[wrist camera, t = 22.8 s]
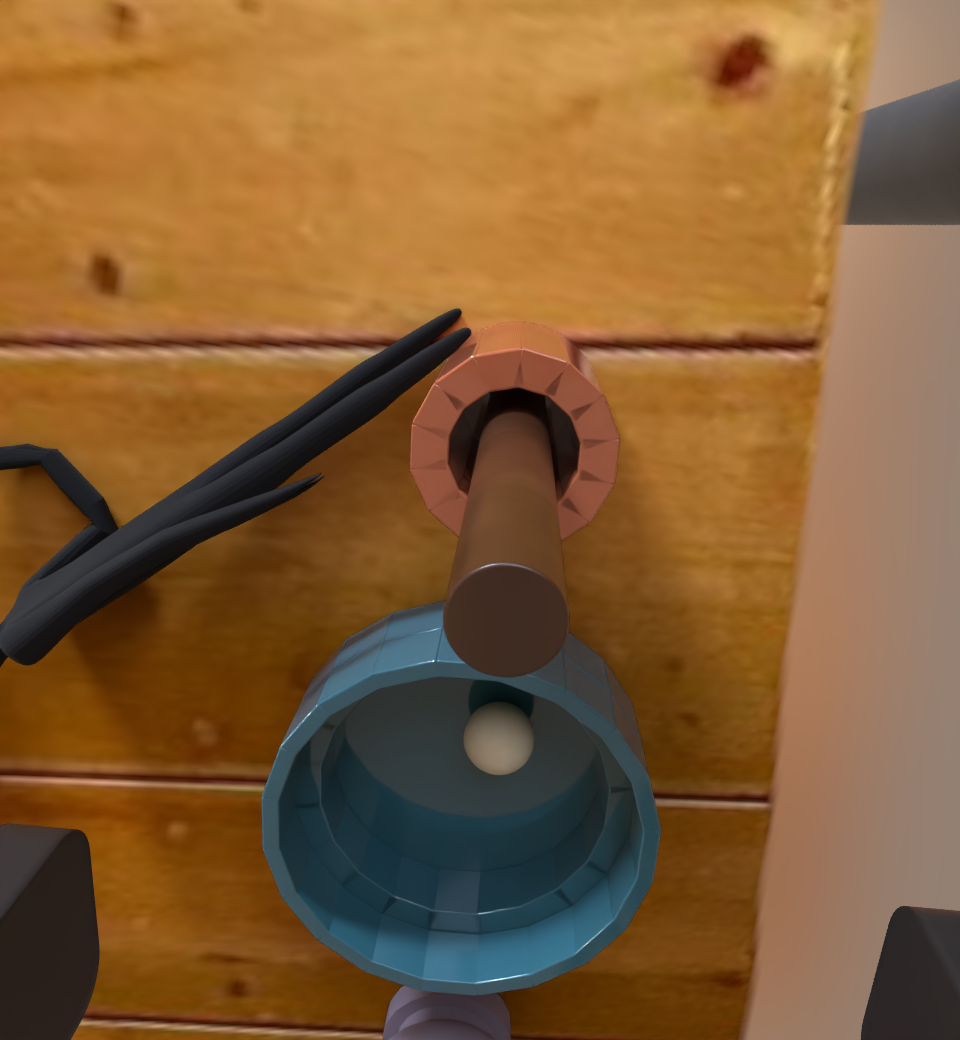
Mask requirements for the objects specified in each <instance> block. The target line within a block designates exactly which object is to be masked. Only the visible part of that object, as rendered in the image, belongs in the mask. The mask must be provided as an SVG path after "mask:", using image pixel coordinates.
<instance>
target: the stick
mask: <svg viewBox="0 0 960 1040" xmlns="http://www.w3.org/2000/svg"><path fill="white" fill-rule="evenodd" d="M569 625H570V616H569V607H568V598H567V589H566V580H565V571H564V562H563V553H562V543H561V534H560V525H559V516H558V507H557V498H556V489H555V480H554V471H553V462H552V453H551V444H550V435H549V426H548V417H547V408H546V399H545V396H544V395H540V394H537V393H534V392H530V391H527V390H524V389H521V388H515V389H509V390H502V391H496V392H490V396H489V400H488V405H487V409H486V414H485V419H484V423H483V428H482V433H481V437H480V442H479V447H478V451H477V456H476V461H475V465H474V470H473V474H472V479H471V484H470V488H469V493H468V498H467V502H466V507H465V512H464V516H463V521H462V526H461V530H460V535H459V540H458V544H457V549H456V553H455V558H454V563H453V567H452V572H451V577H450V581H449V586H448V591H447V595H446V600H445V605H444V610H443V627H444V632H445V635H446V638H447V640H448V642H449V645H450V646H451V648H452V649H453V651H454V652H455V653H456V655H457V656H458V657H459V658H460V659H461V660H462V661H463V662H465V663H466V664H467V665H469V666H470V667H471V668H473V669H475V670H477V671H479V672H481V673H484V674H487V675H491V676H495V677H507V678H511V677H519V676H523V675H527V674H530V673H533V672H535V671H537V670H539V669H541V668H542V667H544V666H545V665H547V664H548V663H549V662H550V661H551V660H552V659H554V657H555V656H556V655H557V654H558V653H559V651H560V650H561V648H562V647H563V645H564V643H565V641H566V638H567V635H568V631H569Z"/></svg>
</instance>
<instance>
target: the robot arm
mask: <svg viewBox="0 0 960 1040" xmlns="http://www.w3.org/2000/svg"><path fill="white" fill-rule="evenodd" d="M98 965H99V938H98V928H97V918H96V908H95V897H94V887H93V877H92V867H91V857H90V848H89V843H88V839H87V837H86V835H85V834H84V833H83V832H82V831H80V830H75V829H64V828H53V827H42V826H30V825H19V824H3V825H0V1040H71V1038H72V1036H73V1034H74V1033H75V1031H76V1029H77V1027H78V1026H79V1024H80V1022H81V1020H82V1018H83V1016H84V1014H85V1012H86V1009H87V1007H88V1005H89V1002H90V999H91V996H92V993H93V990H94V986H95V982H96V978H97V972H98ZM861 1040H960V911H954V910H943V909H931V908H921V907H909V906H901V907H899V908H897V909H896V910H895V912H894V913H893V915H892V917H891V919H890V922H889V925H888V929H887V933H886V937H885V940H884V944H883V948H882V952H881V956H880V959H879V963H878V967H877V970H876V974H875V978H874V982H873V985H872V989H871V993H870V997H869V1000H868V1004H867V1008H866V1012H865V1016H864V1019H863V1025H862V1032H861Z"/></svg>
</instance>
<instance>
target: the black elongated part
mask: <svg viewBox="0 0 960 1040" xmlns="http://www.w3.org/2000/svg"><path fill="white" fill-rule="evenodd" d="M461 313H462V312H461V310H460V309H453V310H451V311H449V312H447V313H445V314H443V315H441V316H439V317H437V318H435V319H434V320H432V321H430V322H428V323H427V324H425V325H423V326H421V327H420V328H418V329H416V330H415V331H413V332H412V333H410V334H408V335H407V336H405V337H403V338H402V339H400V340H399V341H397V342H396V343H394V344H393V345H391V346H389V347H388V348H386V349H385V350H383V351H382V352H380V353H378V354H376V355H375V356H373V357H371V358H369V359H367V360H365V361H364V362H362V363H361V364H359V365H357V366H356V367H354V368H353V369H352V370H350V371H349V372H347V373H346V374H345V375H343V376H342V377H340V378H339V379H338V380H336V381H335V382H334V383H332V384H331V385H330V386H328V387H327V388H326V389H324V390H323V391H322V392H320V393H319V394H318V395H316V396H315V397H313V398H312V399H311V400H309V401H308V402H307V403H305V404H304V405H302V406H301V407H300V408H298V409H297V410H295V411H294V412H293V413H291V414H290V415H288V416H287V417H285V418H284V419H282V420H280V421H279V422H277V423H275V424H274V425H272V426H270V427H268V428H267V429H265V430H263V431H262V432H260V433H259V434H257V435H256V436H254V437H253V438H251V439H250V440H248V441H247V442H245V443H244V444H242V445H241V446H239V447H238V448H237V449H235V450H234V451H232V452H231V453H229V454H228V455H227V456H225V457H224V458H222V459H221V460H219V461H218V462H217V463H215V464H214V465H212V466H211V467H210V468H208V469H207V470H205V471H204V472H202V473H201V474H200V475H198V476H197V477H195V478H194V479H192V480H191V481H190V482H188V483H187V484H185V485H184V486H182V487H181V488H179V489H178V490H176V491H175V492H173V493H172V494H170V495H169V496H167V497H166V498H164V499H163V500H161V501H160V502H158V503H157V504H155V505H154V506H152V507H151V508H149V509H148V510H146V511H145V512H143V513H142V514H140V515H139V516H137V517H136V518H134V519H133V520H132V521H130V522H129V523H127V524H126V525H124V526H123V527H121V528H120V529H118V527H117V525H116V523H115V521H114V519H113V517H112V515H111V513H110V511H109V509H108V506H107V504H106V502H105V500H104V498H103V497H102V496H101V495H100V493H99V492H98V491H97V490H96V489H95V488H94V487H93V486H92V485H91V484H90V483H89V482H88V481H87V480H86V479H85V478H84V477H83V476H82V475H81V473H80V472H79V471H78V470H77V469H76V468H75V467H74V466H73V465H72V464H71V463H70V462H69V461H68V460H67V459H66V458H65V457H64V456H63V455H62V454H61V453H60V452H59V451H58V449H47V448H41V447H37V446H34V445H30V444H23V445H16V446H7V447H0V470H5V469H16V468H25V467H30V466H35V465H41V466H42V467H43V468H44V470H45V471H46V472H47V473H48V474H49V476H50V477H51V478H52V479H53V480H54V482H55V483H56V484H57V485H58V486H59V488H60V489H61V490H62V491H63V492H64V493H65V494H66V495H67V496H68V498H69V499H70V500H71V501H72V502H73V503H74V504H75V505H76V506H77V507H78V508H79V509H80V510H81V511H82V513H83V514H84V515H86V516H87V517H88V518H89V519H90V520H91V521H92V522H93V523H92V524H91V525H90V526H88V527H87V528H85V529H84V530H83V531H81V532H80V533H79V534H78V535H77V536H75V537H74V538H73V539H72V540H71V541H70V542H69V543H68V544H67V545H66V546H65V547H64V548H63V549H62V550H60V551H59V552H58V553H57V554H56V555H55V556H54V557H53V558H52V559H50V560H49V561H48V562H47V563H46V564H45V565H44V566H43V567H42V568H41V569H39V570H38V571H37V572H36V573H35V574H34V575H33V576H32V577H31V578H30V579H29V580H28V581H27V582H26V583H25V584H24V585H23V587H22V589H21V591H20V592H19V595H18V598H17V600H16V603H15V605H14V606H13V608H12V609H11V611H10V612H9V613H8V615H7V616H6V618H5V619H4V621H3V622H2V623H1V624H0V667H1V666H2V664H3V663H4V661H5V660H6V659H7V657H9V658H11V659H12V660H14V661H15V662H17V663H20V664H22V665H32V664H35V663H37V662H38V661H39V660H41V659H42V658H43V657H44V656H45V655H46V654H47V653H48V652H49V651H50V650H51V649H52V648H53V647H54V646H55V645H56V644H57V643H58V642H59V641H60V640H61V639H62V638H63V637H64V636H65V635H66V634H67V633H68V632H69V631H70V630H71V629H72V628H73V627H74V626H75V625H77V624H78V623H79V622H81V621H83V620H84V619H86V618H87V617H89V616H90V615H92V614H94V613H95V612H97V611H98V610H100V609H101V608H103V607H105V606H106V605H108V604H109V603H111V602H112V601H114V600H116V599H117V598H119V597H120V596H122V595H123V594H125V593H127V592H128V591H130V590H131V589H133V588H134V587H136V586H137V585H139V584H140V583H142V582H143V581H145V580H146V579H148V578H149V577H151V576H152V575H154V574H155V573H157V572H158V571H160V570H161V569H163V568H164V567H166V566H167V565H169V564H170V563H172V562H173V561H174V560H176V559H177V558H179V557H180V556H182V555H183V554H184V553H186V552H187V551H189V550H190V549H191V548H193V547H194V546H195V545H197V544H199V543H201V542H203V541H205V540H207V539H209V538H211V537H214V536H216V535H218V534H220V533H222V532H224V531H227V530H229V529H231V528H234V527H236V526H238V525H240V524H242V523H244V522H246V521H248V520H251V519H253V518H255V517H257V516H259V515H261V514H263V513H265V512H267V511H269V510H271V509H273V508H275V507H277V506H279V505H281V504H283V503H285V502H287V501H289V500H291V499H293V498H295V497H297V496H298V495H300V494H302V493H303V492H305V491H306V490H308V489H309V488H311V487H312V486H314V485H315V484H316V483H318V482H319V481H320V480H321V479H322V478H323V477H324V476H323V477H321V478H320V479H318V480H316V481H314V480H315V479H316V478H318V477H319V476H320V475H321V474H322V473H320V474H317V475H314V476H311V477H309V478H306V479H303V480H300V481H298V482H295V483H292V484H290V485H287V486H284V487H281V488H278V489H276V488H277V487H278V486H280V485H281V484H282V483H283V482H285V481H286V480H287V479H288V478H289V477H290V476H292V475H293V474H294V473H295V472H296V471H298V470H299V469H300V468H302V467H303V466H304V465H305V464H307V463H308V462H310V461H311V460H312V459H314V458H315V457H317V456H318V455H320V454H321V453H322V452H324V451H325V450H327V449H328V448H330V447H331V446H333V445H334V444H336V443H337V442H339V441H340V440H342V439H343V438H345V437H346V436H347V435H349V434H350V433H352V432H353V431H355V430H356V429H358V428H359V427H361V426H362V425H364V424H365V423H367V422H368V421H370V420H371V419H372V418H374V417H375V416H377V415H378V414H379V413H380V412H382V411H383V410H384V409H386V408H387V407H388V406H389V405H390V404H391V403H392V402H393V401H394V400H396V399H397V398H398V397H399V396H400V395H401V394H403V393H404V392H405V391H407V390H408V389H409V388H411V387H412V386H413V385H415V384H416V383H417V382H418V381H420V380H421V379H422V378H424V377H425V376H426V375H427V374H429V373H430V372H431V371H432V370H434V369H435V368H436V367H437V366H438V365H440V364H441V363H442V362H443V361H444V360H445V359H447V358H448V357H449V356H450V355H451V354H452V353H454V352H455V351H456V350H457V349H458V348H459V347H460V346H461V345H462V344H463V343H464V342H465V341H466V340H467V339H468V338H469V336H470V335H471V330H470V329H469V328H463V329H460V330H458V331H456V332H454V333H452V334H450V335H448V336H446V337H444V338H443V339H441V340H439V341H437V342H436V343H434V344H432V345H430V346H429V347H427V348H425V347H426V346H428V345H429V344H430V343H431V342H433V341H434V340H435V339H436V338H437V337H439V336H440V335H441V334H442V333H443V332H444V331H446V330H447V329H448V328H449V327H450V326H451V325H452V324H453V323H454V322H456V320H457V319H458V318H459V317H460V316H461ZM424 348H425V349H424ZM423 349H424V350H423ZM421 350H422V351H421ZM312 481H314V482H312ZM311 482H312V483H311ZM309 483H310V484H309ZM308 484H309V485H308ZM274 489H275V490H274Z"/></svg>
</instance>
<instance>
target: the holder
mask: <svg viewBox="0 0 960 1040" xmlns="http://www.w3.org/2000/svg"><path fill="white" fill-rule="evenodd" d="M515 388H521V389H524V390H527V391H530V392H534V393H537V394H540V395H544V396H545V399H546V408H547V417H548V426H549V435H550V444H551V453H552V462H553V471H554V480H555V489H556V498H557V507H558V516H559V525H560V534H561V541H562V540H564V539H566V538H567V537H569V536H570V535H572V534H574V533H575V532H577V531H578V530H580V529H582V528H583V527H585V526H586V525H588V524H589V522H591V521H592V520H593V518H594V517H595V515H596V514H597V512H598V511H599V509H600V508H601V506H602V504H603V503H604V501H605V500H606V498H607V497H608V495H609V494H610V492H611V490H612V489H613V487H614V484H615V482H616V474H617V465H618V456H619V447H620V438H619V437H620V436H619V433H618V430H617V427H616V425H615V422H614V419H613V417H612V414H611V411H610V408H609V406H608V403H607V400H606V397H605V395H604V393H603V391H602V389H601V386H600V384H599V382H598V380H597V378H596V375H595V373H594V371H593V369H592V367H591V365H590V362H589V361H588V359H587V357H586V356H585V355H584V354H582V353H581V352H580V350H579V349H578V348H577V347H576V346H575V345H574V344H573V343H572V342H571V341H569V340H568V339H567V338H566V337H564V336H563V335H562V334H561V333H559V332H557V331H554V330H552V329H550V328H547V327H545V326H542V325H538V324H534V323H528V322H507V323H500V324H496V325H493V326H490V327H486V328H483V329H481V330H480V331H478V332H477V333H475V334H473V335H472V336H470V337H469V338H468V339H467V340H466V341H465V342H464V343H463V344H462V345H461V346H460V347H459V348H458V349H457V350H456V351H455V352H454V353H452V354H451V355H450V356H449V358H448V359H447V361H446V363H445V364H444V366H443V368H442V369H441V371H440V373H439V375H438V376H437V378H436V380H435V381H434V383H433V385H432V387H431V389H430V390H429V392H428V394H427V396H426V398H425V400H424V401H423V403H422V405H421V407H420V409H419V411H418V412H417V414H416V416H415V418H414V420H413V422H412V426H411V450H410V469H411V470H410V471H411V474H412V476H413V478H414V480H415V483H416V485H417V487H418V489H419V492H420V494H421V496H422V498H423V501H424V503H425V505H426V507H427V509H428V510H429V512H430V513H431V514H432V515H433V516H434V517H436V518H437V519H438V520H439V521H440V522H441V523H443V524H444V525H445V526H446V527H447V528H448V529H450V530H451V531H452V532H453V533H454V534H455V535H456V536H458V537H459V535H460V530H461V526H462V521H463V516H464V512H465V507H466V502H467V498H468V493H469V488H470V484H471V479H472V474H473V470H474V465H475V461H476V456H477V451H478V447H479V442H480V437H481V433H482V428H483V423H484V419H485V414H486V409H487V405H488V400H489V396H490V392H496V391H502V390H509V389H515Z"/></svg>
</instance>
